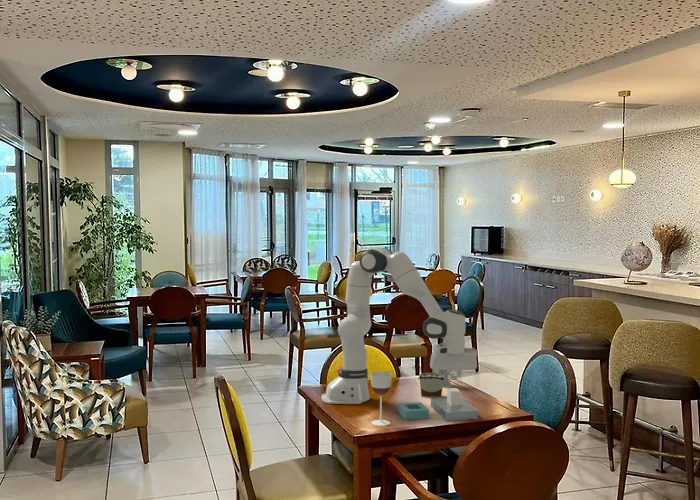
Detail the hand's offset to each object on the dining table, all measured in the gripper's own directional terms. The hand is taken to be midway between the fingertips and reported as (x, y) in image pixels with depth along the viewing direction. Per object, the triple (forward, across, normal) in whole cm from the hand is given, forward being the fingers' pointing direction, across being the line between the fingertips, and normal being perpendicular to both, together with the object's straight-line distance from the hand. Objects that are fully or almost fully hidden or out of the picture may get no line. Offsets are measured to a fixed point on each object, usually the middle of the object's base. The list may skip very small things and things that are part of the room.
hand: (453, 379), depth 266 cm
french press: (+15, -11, -44) cm, 47 cm away
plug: (+14, -1, 0) cm, 14 cm away
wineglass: (+15, +33, +8) cm, 37 cm away
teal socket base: (+15, +17, 0) cm, 23 cm away
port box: (+14, -1, 0) cm, 14 cm away
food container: (+15, 0, -28) cm, 31 cm away
